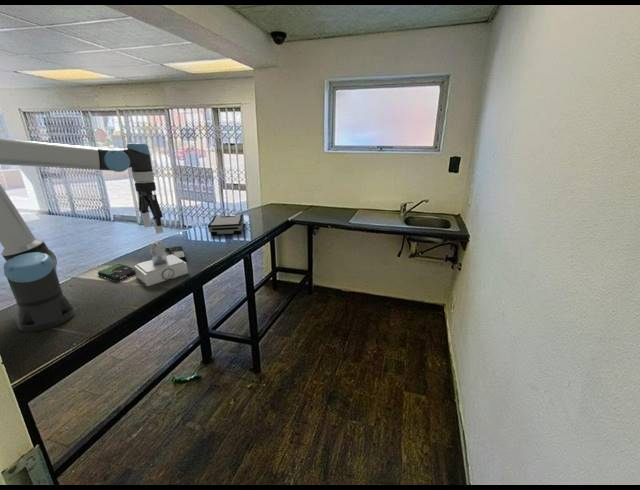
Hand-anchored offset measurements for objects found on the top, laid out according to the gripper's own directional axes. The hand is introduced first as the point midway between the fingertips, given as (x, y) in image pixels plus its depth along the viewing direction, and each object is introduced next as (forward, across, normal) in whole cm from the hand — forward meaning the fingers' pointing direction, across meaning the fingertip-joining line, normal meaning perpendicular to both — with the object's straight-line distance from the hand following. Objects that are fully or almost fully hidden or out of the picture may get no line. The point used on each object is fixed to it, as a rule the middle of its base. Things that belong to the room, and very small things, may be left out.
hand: (153, 229), depth 131 cm
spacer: (+16, 0, 0) cm, 16 cm away
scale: (+22, 0, 0) cm, 22 cm away
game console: (+23, +44, -62) cm, 80 cm away
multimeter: (+23, +18, -12) cm, 31 cm away
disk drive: (+23, +16, +14) cm, 31 cm away
